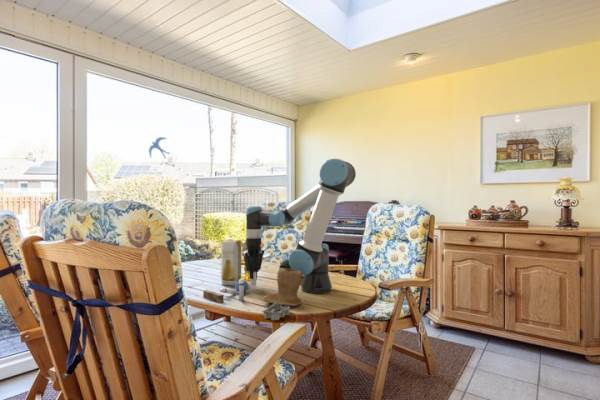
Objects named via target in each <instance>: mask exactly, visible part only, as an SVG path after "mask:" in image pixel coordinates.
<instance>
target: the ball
mask: <svg viewBox="0 0 600 400" xmlns="http://www.w3.org/2000/svg"><path fill="white" fill-rule="evenodd" d="M234 289H235V290H237V293H239V281H238V282H237V283H236V285H235V286H234ZM248 289H249V284H248V281H246V280H245V279H244V293H246V292H247V291H248Z"/></svg>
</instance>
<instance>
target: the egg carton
mask: <svg viewBox="0 0 600 400" xmlns="http://www.w3.org/2000/svg"><path fill="white" fill-rule="evenodd" d="M290 308H291V306H286V305H284V306H283V305H282V304H281V303H278V301H277V302H275V303H271V305H269V307H267V308H265V309H264V310H262V311H261V312H262V313H263V319H270V320H271V321H279V320H280V318H284V317H285V314H289V315H290ZM278 310H281V311H278Z"/></svg>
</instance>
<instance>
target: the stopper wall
mask: <svg viewBox="0 0 600 400" xmlns="http://www.w3.org/2000/svg"><path fill="white" fill-rule="evenodd" d="M202 291H203V295H202V296H203V297H202V298H204V299H207V300H210V301H213V302H216V303H218V304H221V303H224V300H225V299H224V298H225V297H224V294H223V293H219V292H216V291H212V290H209V289H206V290H202Z"/></svg>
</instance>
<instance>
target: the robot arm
mask: <svg viewBox="0 0 600 400" xmlns="http://www.w3.org/2000/svg"><path fill="white" fill-rule="evenodd" d="M318 174H319V177H320V180H319V182H318V184H317V185H315V186H314V187H312V188H311V189H310V190H308V191H306V192H305V193H303V194H302V195H301V196H300V197H298V198H297V199H296V200H294V201H292V202H291V203H290V204H288V205H287V206H285V207H284V208H282V209H281V210H278V209H277V210H276V209H275V210H264V209H263V207H262V206H259V205H258V206H257V205H253V206H252V205H250V206H247V207H246V214H245V216H246V217H245V220H246V225H245V226H246V227H245V228H246V229H245V231H246V232H245V236H246V239H245V245H246V250H244V251H243V252H241V256H243V257H242V258H243V259H244V266H245V271H246V272H248V273H249V280H250V284H249V285H250V286H253V287H255V286H257V278H258V272H260V270H261V268H262V263H263V259H264V254H265V250H264V249H262V238H261V237H262V227H274V228H276V227H283V226H284V225H285V226H287V225H289V224H292V223H294V221H295V219H296V218H298V217H299V216H302V214H304V213H305V212H307V211H308V210H309V209H310V210H311V209H312V208H313V210H312V212H311V215H310V218H309V220H308V223H307V225H306V226H307V227H306V230H305V232H304V234H303V235H304V236H303V238H301V239H300V240H298V242H297V244H296V248H295V250H293V251H292V252H291V253H290V255H289V256H288V260H289V265H290V267H291V269H294V270H299V271H301V273H302V276H303V277H302V280H301V284H300V285H301V286H300V289H301V291H302V290H303V291H302V292H304V291H305V293H308V292H309V293H308V294H326V293H325V292H327V293H330V292H331V290H333V286H332V281H331V278H330V275H329V265H330V264H329V263H330V261H329V257H330V255H329V254H330V250H329V249H330V248H329V244H327V243H323V240H324V238H325V235H326V232H327V229H328V227H329V224H330V221H331V218H332V215H333V214H334V211H335V207H336V205H337V202H338V199H339V197H340V196H341V195H343V194H344V193H345V190H346V188H347V187H349V186H350V185H352V184H353V182H354V181H355V179H356V174H357V172H356V169H355V167H354V166H353V164H352V163H350V162H348V161H345V160H343V159H341V158H340V159H339V158H328V159H327V160H326V161H324V162H323V163H322V165H321V166H320V169H319V172H318ZM329 291H330V292H329Z"/></svg>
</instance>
